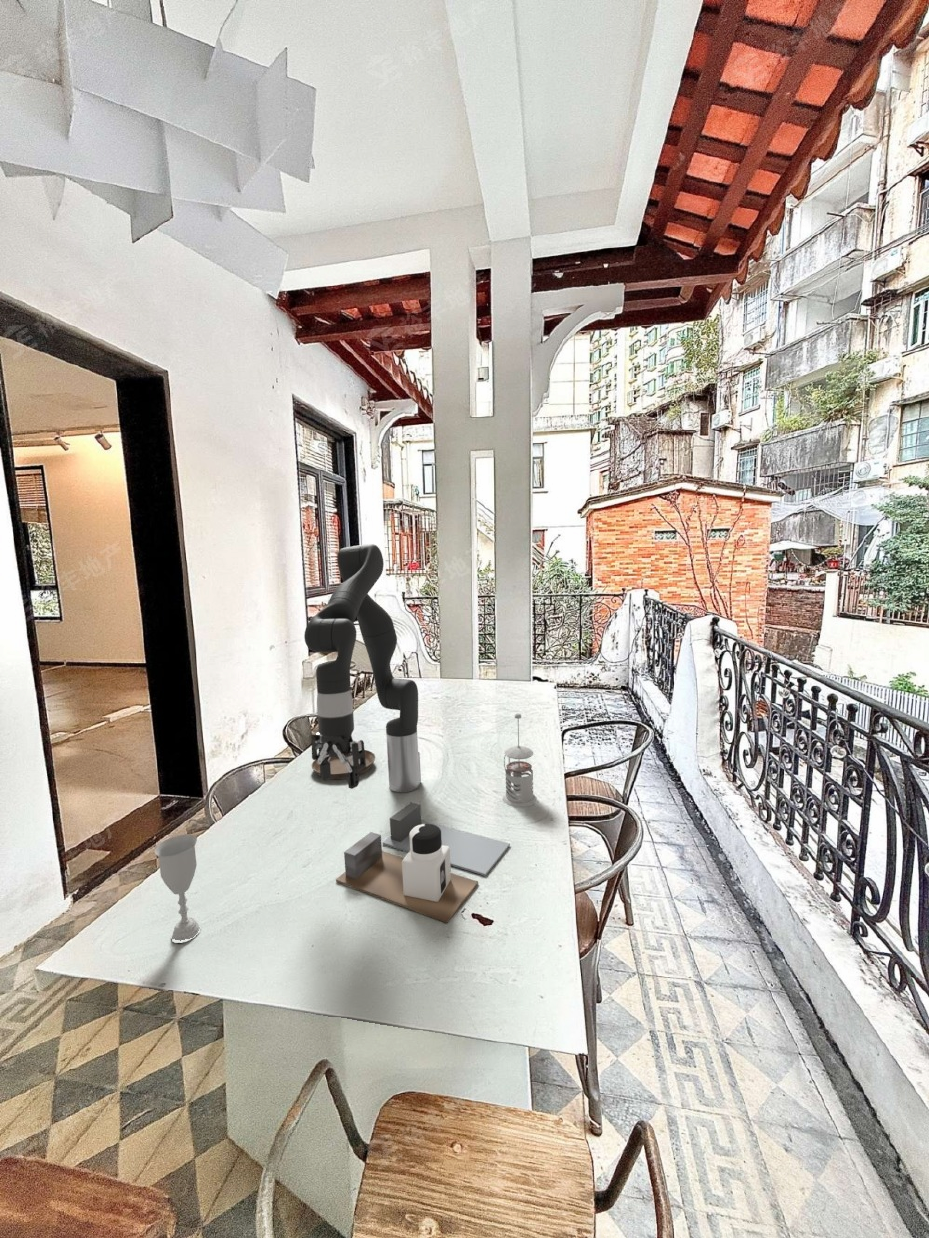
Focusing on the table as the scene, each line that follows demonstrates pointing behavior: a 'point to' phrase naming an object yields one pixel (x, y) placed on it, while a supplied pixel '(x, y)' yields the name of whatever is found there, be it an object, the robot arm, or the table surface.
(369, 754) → the plant saucer
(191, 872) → the chalice
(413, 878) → the container
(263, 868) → the table surface
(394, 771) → the robot arm
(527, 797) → the french press
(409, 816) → the grey board with block
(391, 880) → the brown board
